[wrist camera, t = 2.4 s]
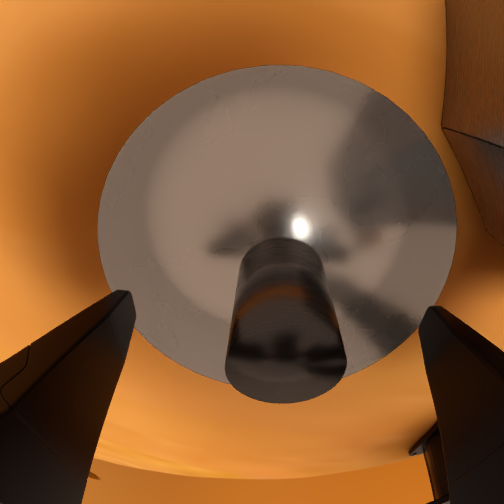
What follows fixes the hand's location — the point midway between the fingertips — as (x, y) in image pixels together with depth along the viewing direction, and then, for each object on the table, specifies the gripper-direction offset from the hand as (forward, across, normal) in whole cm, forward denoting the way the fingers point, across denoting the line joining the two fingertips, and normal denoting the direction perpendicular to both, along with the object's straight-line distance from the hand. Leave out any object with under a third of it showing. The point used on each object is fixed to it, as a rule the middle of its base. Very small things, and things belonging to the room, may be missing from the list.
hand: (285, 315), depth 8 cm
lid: (+3, 0, 0) cm, 3 cm away
